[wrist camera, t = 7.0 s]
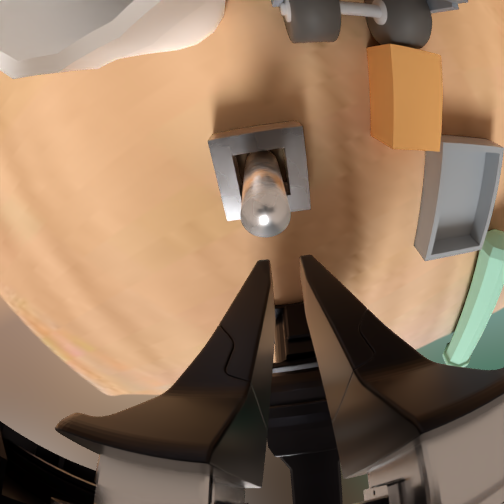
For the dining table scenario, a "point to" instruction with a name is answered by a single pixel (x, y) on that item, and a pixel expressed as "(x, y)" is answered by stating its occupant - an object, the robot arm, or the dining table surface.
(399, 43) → the grey wheeled cart
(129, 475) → the robot arm
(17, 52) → the foam cup
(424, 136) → the block
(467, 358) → the container
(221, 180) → the pin bracket
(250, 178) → the pin
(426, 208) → the tray
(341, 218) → the dining table surface
